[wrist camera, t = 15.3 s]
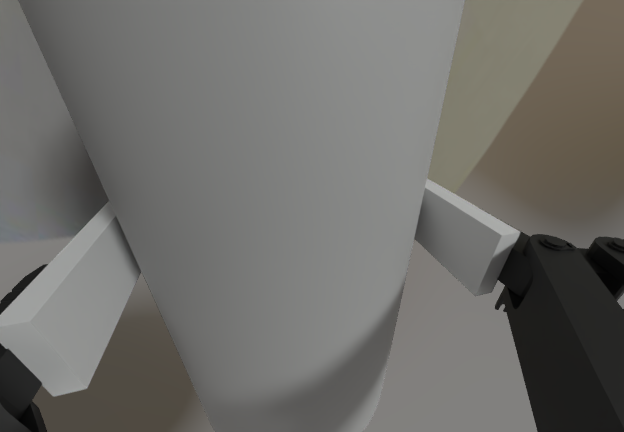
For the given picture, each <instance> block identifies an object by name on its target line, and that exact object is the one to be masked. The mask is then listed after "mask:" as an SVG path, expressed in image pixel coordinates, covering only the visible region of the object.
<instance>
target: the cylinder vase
mask: <svg viewBox="0 0 624 432" xmlns="http://www.w3.org/2000/svg"><path fill="white" fill-rule="evenodd" d="M18 1H19V3H20V5H21V7H22V10H23V12H24V14H25V16H26V18H27V21H28V23H29V25H30V27H31V30H32V32H33V34H34V36H35V38H36V41H37V43H38V45H39V47H40V49H41V52H42V54H43V56H44V58H45V60H46V63H47V65H48V67H49V69H50V71H51V74H52V76H53V78H54V80H55V82H56V85H57V87H58V89H59V91H60V93H61V96H62V98H63V100H64V102H65V104H66V107H67V109H68V111H69V113H70V115H71V118H72V120H73V122H74V124H75V126H76V129H77V131H78V133H79V135H80V137H81V140H82V142H83V144H84V146H85V148H86V151H87V153H88V155H89V157H90V159H91V162H92V164H93V166H94V168H95V170H96V173H97V175H98V177H99V179H100V181H101V184H102V186H103V188H104V190H105V192H106V195H107V197H108V199H109V201H110V203H111V206H112V208H113V210H114V212H115V215H116V217H117V219H118V221H119V223H120V226H121V228H122V230H123V232H124V234H125V237H126V239H127V241H128V243H129V245H130V248H131V250H132V252H133V254H134V256H135V259H136V261H137V263H138V265H139V267H140V270H141V272H142V274H143V276H144V278H145V281H146V283H147V285H148V287H149V289H150V291H151V293H152V296H153V298H154V300H155V303H156V305H157V307H158V309H159V311H160V314H161V316H162V318H163V320H164V322H165V325H166V327H167V329H168V331H169V333H170V336H171V338H172V340H173V342H174V344H175V346H176V349H177V351H178V353H179V355H180V358H181V360H182V362H183V364H184V366H185V368H186V371H187V373H188V375H189V377H190V380H191V382H192V384H193V386H194V388H195V391H196V393H197V395H198V397H199V399H200V402H201V404H202V406H203V408H204V410H205V413H206V415H207V417H208V419H209V421H210V424H211V425H212V427H213V429H214V430H215V432H363V431H364V429H365V428H366V427H367V425H368V423H369V422H370V420H371V418H372V416H373V414H374V413H375V410H376V408H377V405H378V403H379V399H380V396H381V392H382V387H383V382H384V378H385V373H386V368H387V364H388V359H389V354H390V350H391V345H392V340H393V335H394V331H395V326H396V322H397V317H398V312H399V308H400V303H401V298H402V293H403V289H404V284H405V279H406V274H407V270H408V265H409V261H410V256H411V251H412V247H413V242H414V237H415V232H416V228H417V223H418V218H419V214H420V209H421V204H422V200H423V195H424V190H425V185H426V181H427V176H428V171H429V167H430V162H431V157H432V153H433V148H434V143H435V138H436V134H437V129H438V124H439V120H440V115H441V110H442V106H443V101H444V96H445V92H446V87H447V82H448V77H449V73H450V68H451V63H452V59H453V54H454V49H455V45H456V40H457V35H458V30H459V26H460V21H461V16H462V12H463V7H464V2H465V0H18Z"/></svg>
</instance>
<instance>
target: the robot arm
mask: <svg viewBox="0 0 624 432" xmlns="http://www.w3.org/2000/svg"><path fill="white" fill-rule="evenodd" d="M414 239H415V240H417V241H418V242H419V243H420V244H421V245H422V246H423V247H424V248H425V249H426V250H427V251H428V252H429V253H430V254H431V255H432V256H433V257H435V258H436V259H437V260H438V261H439V262H440V263H441V264H442V265H443V266H444V267H445V268H446V269H447V270H448V271H449V272H450V273H451V274H452V275H453V276H454V277H456V278H457V279H458V280H459V281H460V282H461V283H462V284H463V285H464V286H465V287H466V288H467V289H468V290H469V291H470V292H471V293H472V294H473V295H474V296H478V295H483V294H487V293H491V292H492V291H493V289H494V287H495V285H496V283H497V280H499V281H500V282H501V283H503V284H504V285H505V287H504V289H503V291H502V293H501V295H500V297H499V299H498V301H497V303H496V305H495V309H497V310H498V309H499V308H500V306H501V305H502V304H505V308H504V310H503V311H504V312H507V316H508V319H509V323H510V327H511V331H512V334H513V339H514V342H515V346H516V350H517V354H518V358H519V362H520V365H521V369H522V373H523V377H524V381H525V385H526V388H527V392H528V396H529V400H530V404H531V408H532V411H533V416H534V419H535V423H536V427H537V431H538V432H624V309H622V308H621V306H620V305H619V304H618V302H617V300H618V299H619V298H620V297H621V296H622V295H623V293H624V239H623V240H622V239H620V238H611V237H598V238H596V239H595V240H594V241H593V243H592V244H591V246H590V247H589V249H581V248H576V247H575V246H573V245H572V244H571V243H568V242H567V241H565V240H562V239H560V238H557V237H553V236H549V235H543V234H537V235H532V236H531V237H530V236H528V235H526V234H524V233H523V232H521V231H519V230H517V229H516V228H514V227H512V226H510V225H509V224H507V223H505V222H503V221H501V220H499V219H498V218H496V217H495V216H493V215H490V214H489V213H488V212H486V211H484V210H482V209H481V208H479V207H476V206H474V205H473V204H471V203H469V202H467V201H466V200H464V199H462V198H460V197H459V196H457V195H455V194H454V193H452V192H450V191H448V190H447V189H445V188H443V187H441V186H440V185H438V184H436V183H434V182H433V181H431V180H429V179H427V181H426V185H425V190H424V195H423V200H422V204H421V209H420V214H419V218H418V223H417V228H416V232H415V237H414ZM140 273H141V270H140V267H139V265H138V263H137V261H136V259H135V256H134V254H133V252H132V250H131V248H130V245H129V243H128V241H127V239H126V237H125V234H124V232H123V230H122V228H121V226H120V223H119V221H118V219H117V217H116V215H115V212H114V210H113V208H112V206H111V203H110V201H108V202H107V203H106V204H105V206H104V207H103V208H102V209H101V210H100V211H99V212H98V213H97V214H96V215H95V216H94V217H93V218H92V219H91V220H90V221H89V222H88V223H87V224H86V225H85V226H84V228H83V229H82V230H81V231H80V232H79V233H78V234H77V235H76V236H75V237H74V238H73V239H72V240H71V241H70V242H69V243H68V244H67V245H66V246H65V247H64V249H63V250H62V251H61V252H60V253H59V254H58V255H57V256H56V257H55V258H54V259H53V260H52V261H51V262H50V263H49V264H46V265H43V266H41V267H39V268H38V269H36V270H35V271H33V272H32V273H30V274H29V275H27V276H25V277H24V278H23V279H22V280H21V281H20V282H19V283H18V284H17V285H16V286H15V287H14V288H13V289H12V292H10V293H8V294H7V295H6V296H5V297H4V298H3V299H2V300H1V303H0V432H47V430H46V427H45V424H44V421H43V418H42V416H41V413H40V410H39V408H38V407H37V406H36V405H35V404H34V403H33V402H32V399H33V398H34V396H35V394H36V393H37V391H38V390H39V388H40V386H41V385H42V386H44V388H45V389H46V390H47V391H48V392H49V393H50V394H51V395H52V396H53V397H54V396H59V395H63V394H67V393H71V392H75V391H80V390H84V389H87V388H88V386H89V383H90V381H91V379H92V377H93V375H94V372H95V370H96V368H97V366H98V364H99V362H100V360H101V357H102V355H103V353H104V351H105V348H106V347H107V344H108V342H109V340H110V338H111V336H112V334H113V332H114V329H115V327H116V325H117V323H118V321H119V318H120V316H121V314H122V312H123V310H124V308H125V306H126V303H127V301H128V299H129V297H130V295H131V293H132V290H133V288H134V286H135V284H136V282H137V280H138V277H139V275H140Z"/></svg>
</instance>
